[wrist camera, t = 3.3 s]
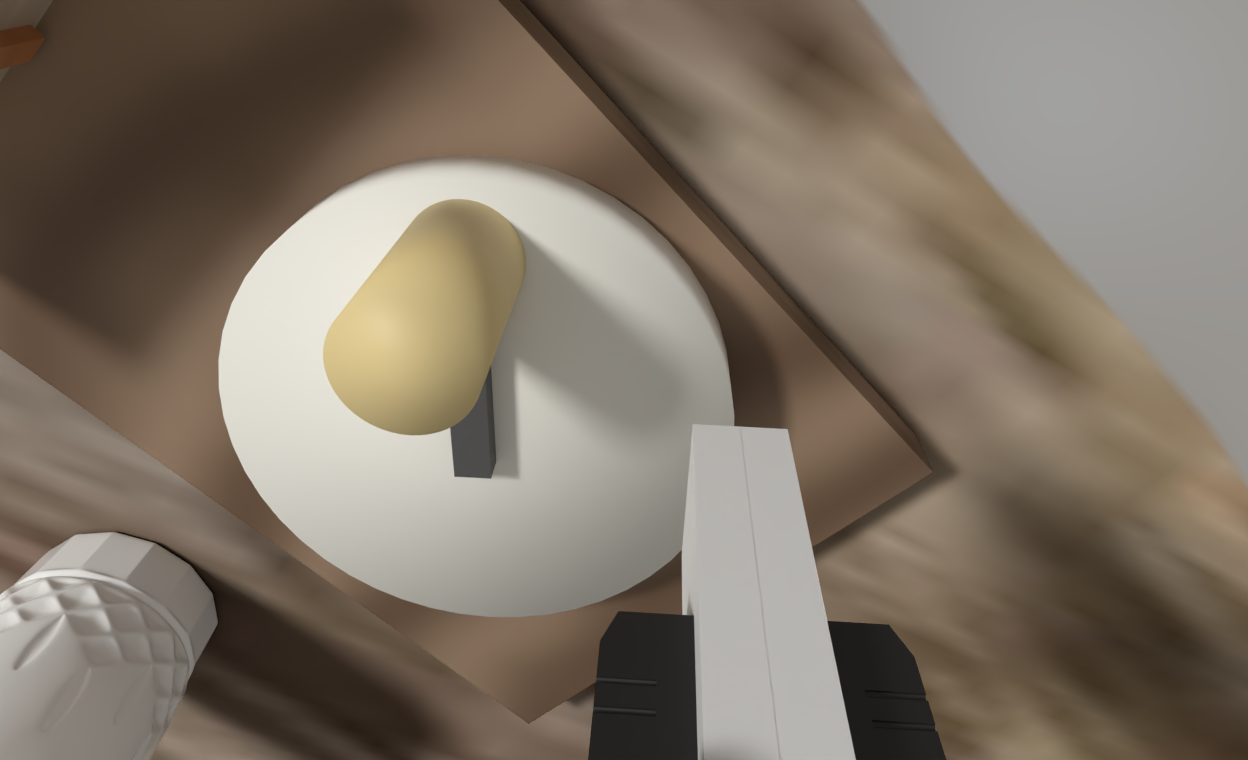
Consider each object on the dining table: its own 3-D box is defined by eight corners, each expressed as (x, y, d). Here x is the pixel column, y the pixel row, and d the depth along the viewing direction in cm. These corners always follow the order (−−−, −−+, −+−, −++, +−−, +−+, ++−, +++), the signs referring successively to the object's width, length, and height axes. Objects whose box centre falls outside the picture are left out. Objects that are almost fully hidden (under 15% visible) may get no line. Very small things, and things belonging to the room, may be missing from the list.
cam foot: (709, 584, 28) (721, 791, 22) (293, 561, 29) (182, 757, 22) (754, 166, 21) (791, 287, 15) (202, 142, 22) (1, 250, 15)
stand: (916, 435, 28) (1012, 649, 20) (536, 681, 34) (496, 913, 27) (215, -336, 19) (-114, -500, 11) (-116, 202, 25) (-467, 341, 17)
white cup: (273, 600, 33) (130, 854, 24) (172, 693, 36) (13, 949, 27) (85, 480, 30) (-148, 716, 22) (-6, 592, 33) (-243, 838, 25)
